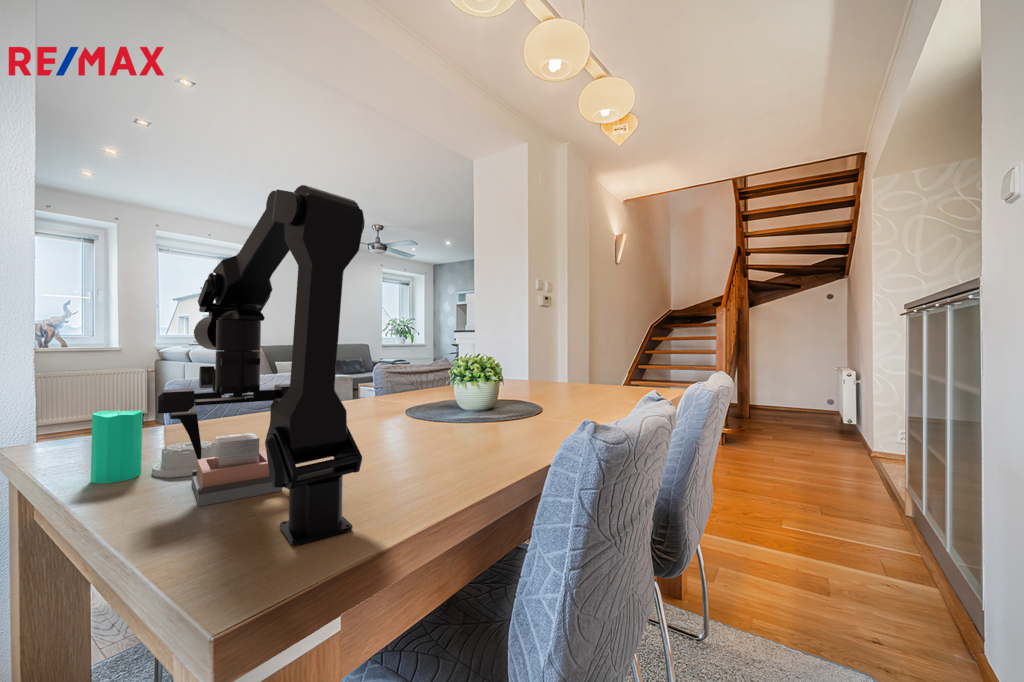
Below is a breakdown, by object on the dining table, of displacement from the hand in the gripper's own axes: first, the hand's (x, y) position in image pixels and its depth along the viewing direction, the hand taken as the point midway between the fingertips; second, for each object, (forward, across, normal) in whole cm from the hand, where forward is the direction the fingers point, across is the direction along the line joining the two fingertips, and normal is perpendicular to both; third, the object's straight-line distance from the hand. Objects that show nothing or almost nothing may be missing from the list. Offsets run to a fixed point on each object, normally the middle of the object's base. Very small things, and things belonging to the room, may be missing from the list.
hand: (236, 454), depth 64 cm
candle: (+5, +14, -17) cm, 23 cm away
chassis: (+5, 0, 0) cm, 5 cm away
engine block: (+4, 0, 0) cm, 4 cm away
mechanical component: (+6, +5, -16) cm, 17 cm away
